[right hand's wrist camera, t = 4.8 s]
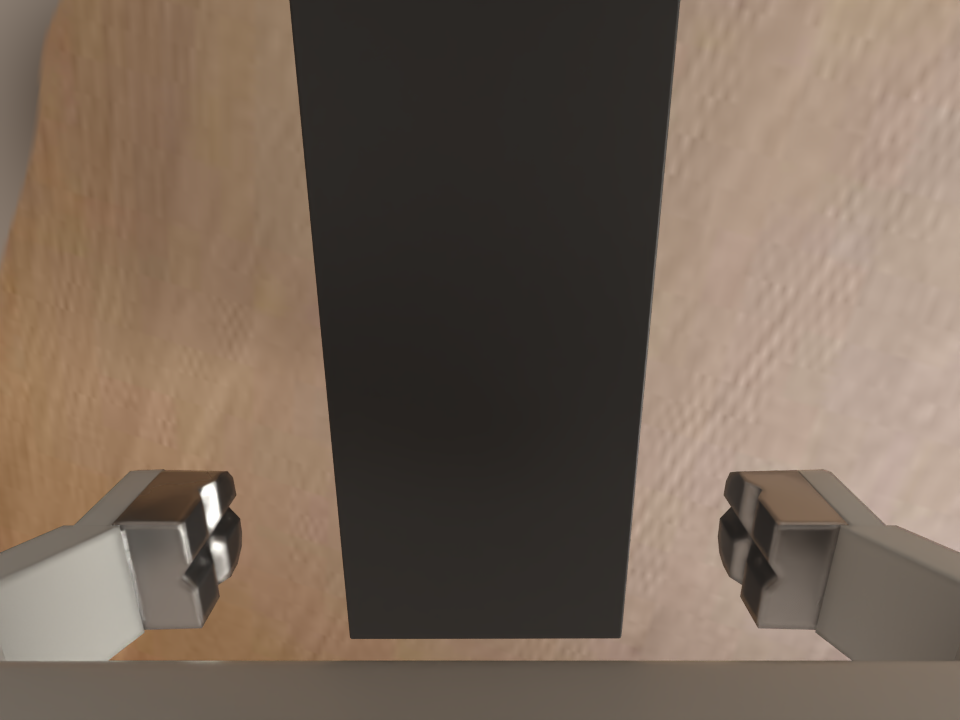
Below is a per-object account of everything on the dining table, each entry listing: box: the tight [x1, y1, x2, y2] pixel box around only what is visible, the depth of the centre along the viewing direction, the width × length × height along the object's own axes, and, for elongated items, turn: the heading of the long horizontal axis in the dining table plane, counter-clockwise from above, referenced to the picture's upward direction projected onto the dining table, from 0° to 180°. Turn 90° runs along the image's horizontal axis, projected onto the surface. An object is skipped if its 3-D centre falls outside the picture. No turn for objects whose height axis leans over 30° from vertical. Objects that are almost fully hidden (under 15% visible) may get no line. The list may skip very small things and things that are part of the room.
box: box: [289, 0, 680, 639], centre depth 15 cm, size 24×6×12 cm, turn 0°
